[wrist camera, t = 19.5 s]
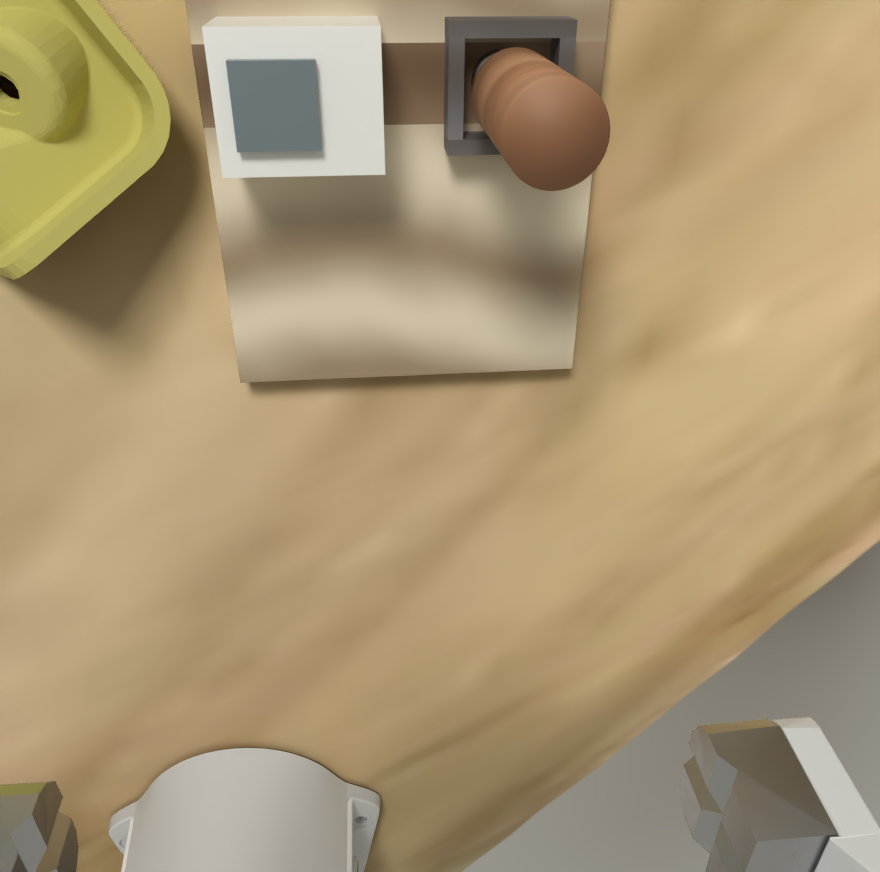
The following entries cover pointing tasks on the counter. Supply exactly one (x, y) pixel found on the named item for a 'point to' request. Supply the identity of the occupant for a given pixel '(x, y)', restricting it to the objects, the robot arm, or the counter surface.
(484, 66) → the brown rounded cylinder
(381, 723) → the counter surface
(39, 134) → the plastic component
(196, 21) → the beige flat block
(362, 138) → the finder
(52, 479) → the counter surface
